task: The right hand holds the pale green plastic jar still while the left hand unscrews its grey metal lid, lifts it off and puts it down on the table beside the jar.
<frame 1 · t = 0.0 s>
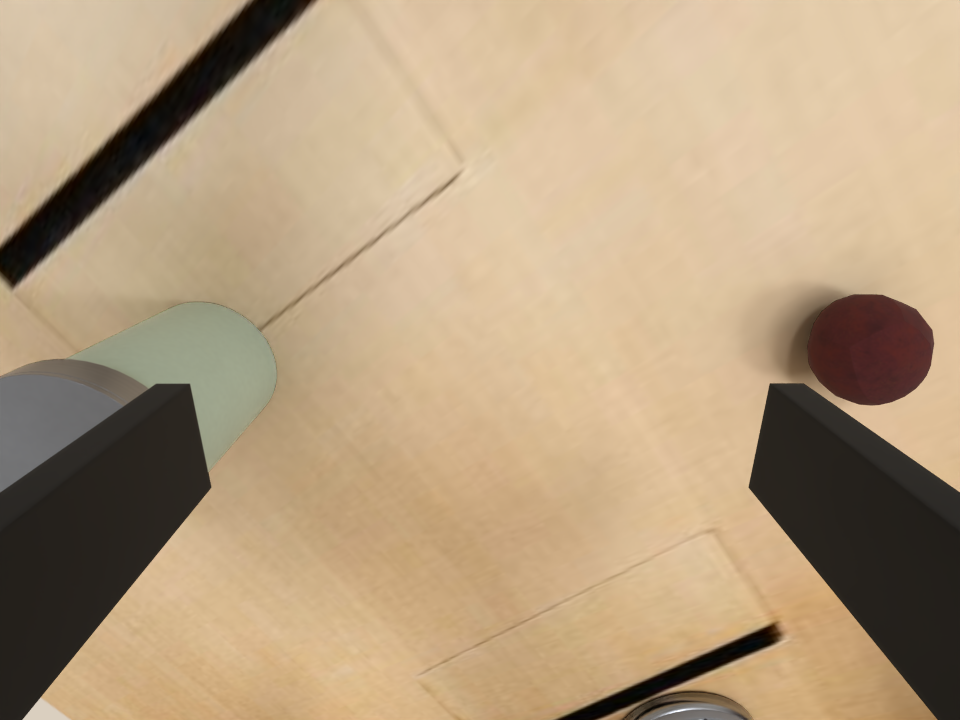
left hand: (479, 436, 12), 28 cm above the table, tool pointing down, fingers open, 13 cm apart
lid: (67, 476, 27), point 15 cm above the table, screwed on, not yet turned
jar: (210, 365, 42), on the table
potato: (834, 331, 41), on the table
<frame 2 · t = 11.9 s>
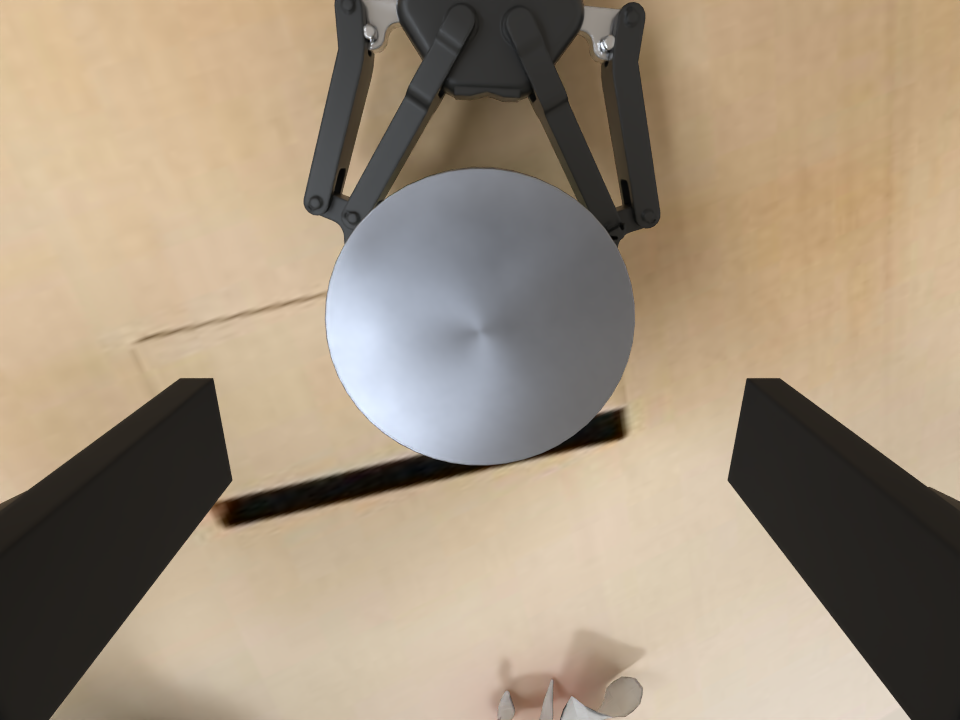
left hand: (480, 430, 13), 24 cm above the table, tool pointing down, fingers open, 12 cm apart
right hand: (477, 350, 31), fingers closed on jar, 10 cm apart
lid: (480, 328, 20), point 15 cm above the table, screwed on, not yet turned
fish: (551, 689, 48), on the table
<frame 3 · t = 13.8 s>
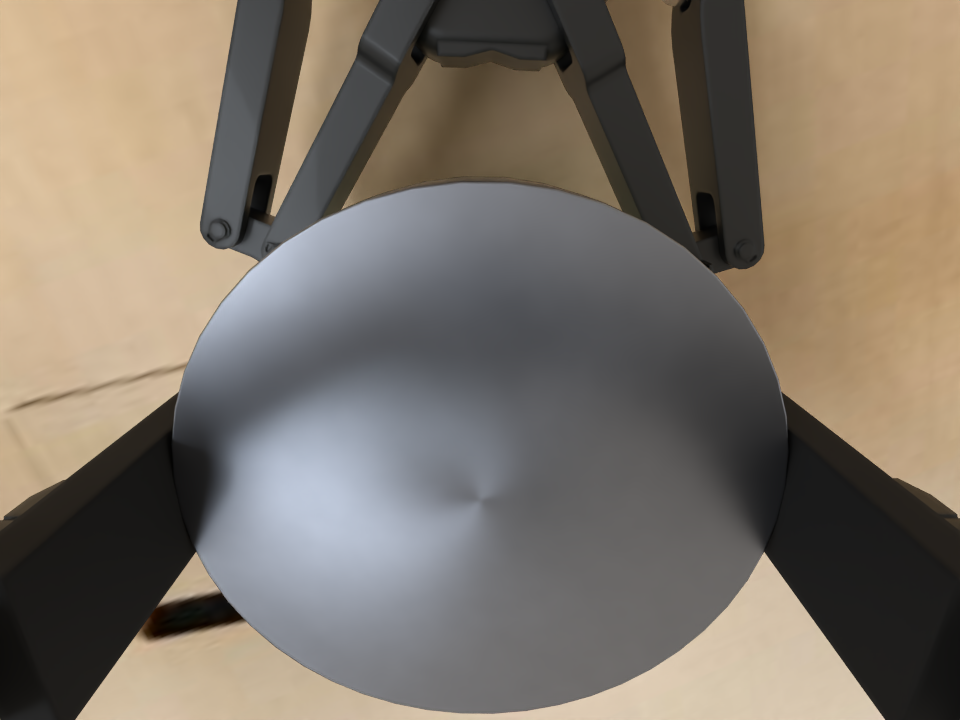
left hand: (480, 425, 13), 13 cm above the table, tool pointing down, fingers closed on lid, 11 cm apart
lid: (480, 489, 10), point 15 cm above the table, screwed on, not yet turned, touching left hand
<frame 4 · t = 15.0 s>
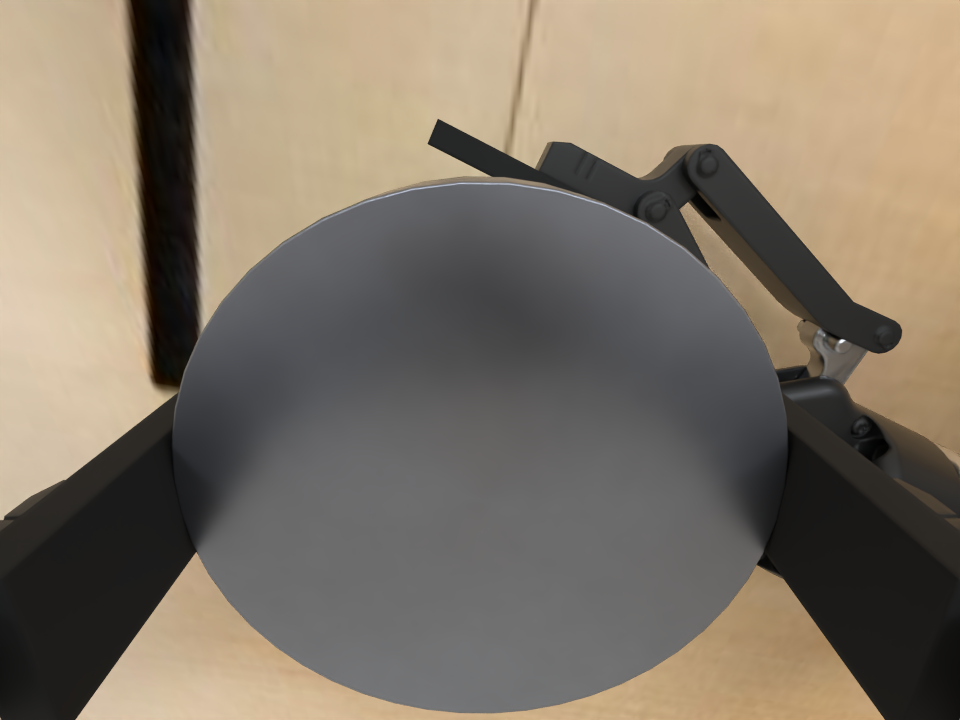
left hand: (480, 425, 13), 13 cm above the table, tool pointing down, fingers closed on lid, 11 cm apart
lid: (480, 489, 10), point 16 cm above the table, off its thread, touching left hand
when the left hand's fingers open (0 cm above the table, at t = 21.5 s): lid drops 1 cm, point 2 cm above the table.
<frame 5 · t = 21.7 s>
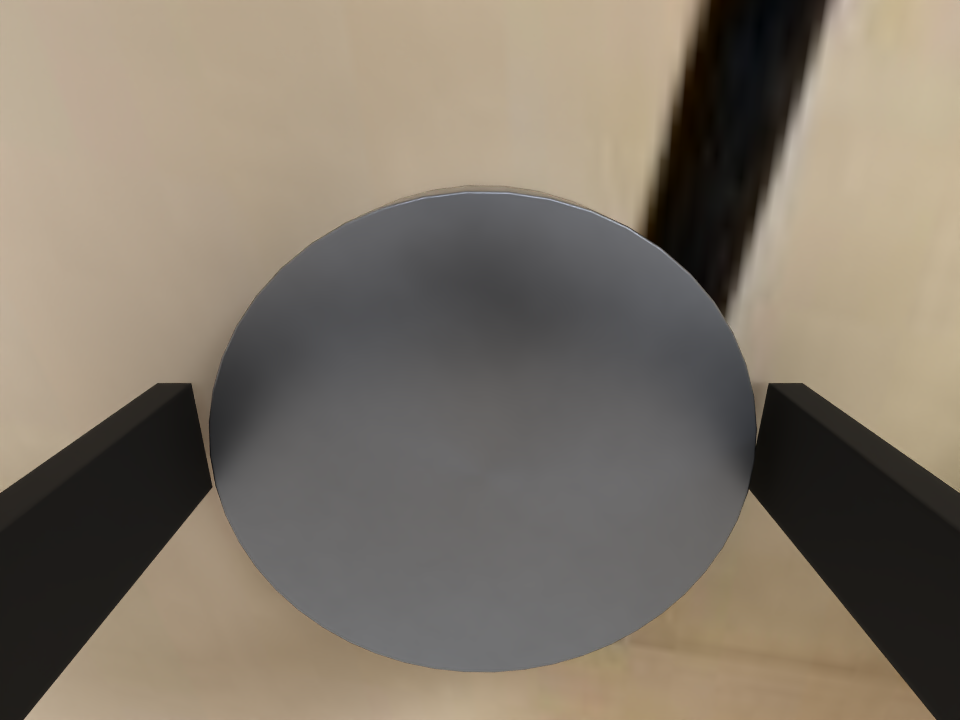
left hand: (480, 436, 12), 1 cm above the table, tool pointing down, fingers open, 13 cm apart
lid: (482, 464, 12), point 2 cm above the table, off its thread
when the right hand's fingers open (6 cm above the table, at t = 22.5 s): jar stays where it is, on the table.
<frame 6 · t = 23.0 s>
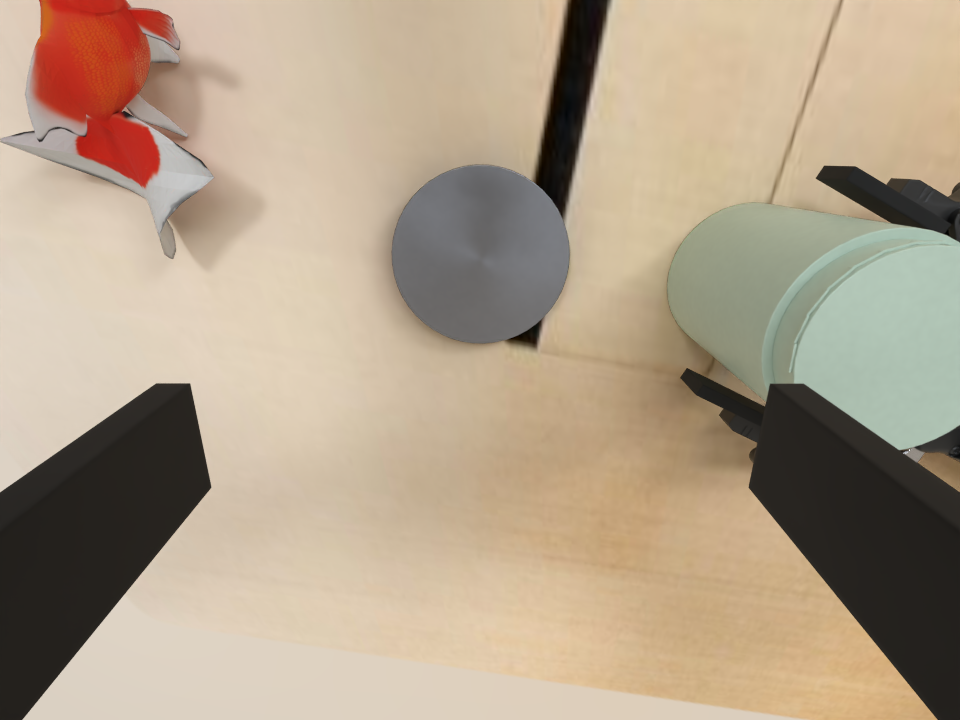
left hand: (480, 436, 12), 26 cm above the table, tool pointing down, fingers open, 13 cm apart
lid: (480, 258, 35), point 2 cm above the table, off its thread
jar: (741, 279, 37), on the table
fish: (165, 125, 34), on the table
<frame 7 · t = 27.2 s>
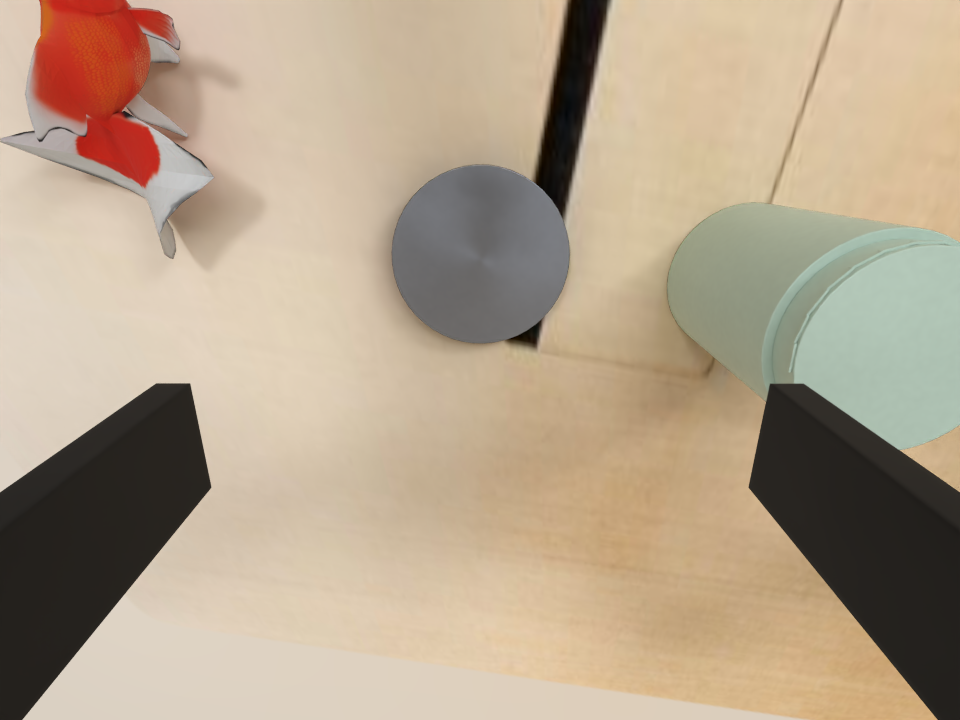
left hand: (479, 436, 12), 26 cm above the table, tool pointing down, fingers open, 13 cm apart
lid: (480, 258, 35), point 2 cm above the table, off its thread
jar: (741, 279, 37), on the table
fish: (165, 125, 34), on the table
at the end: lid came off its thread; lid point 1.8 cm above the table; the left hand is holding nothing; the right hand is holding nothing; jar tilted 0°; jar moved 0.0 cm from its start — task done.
